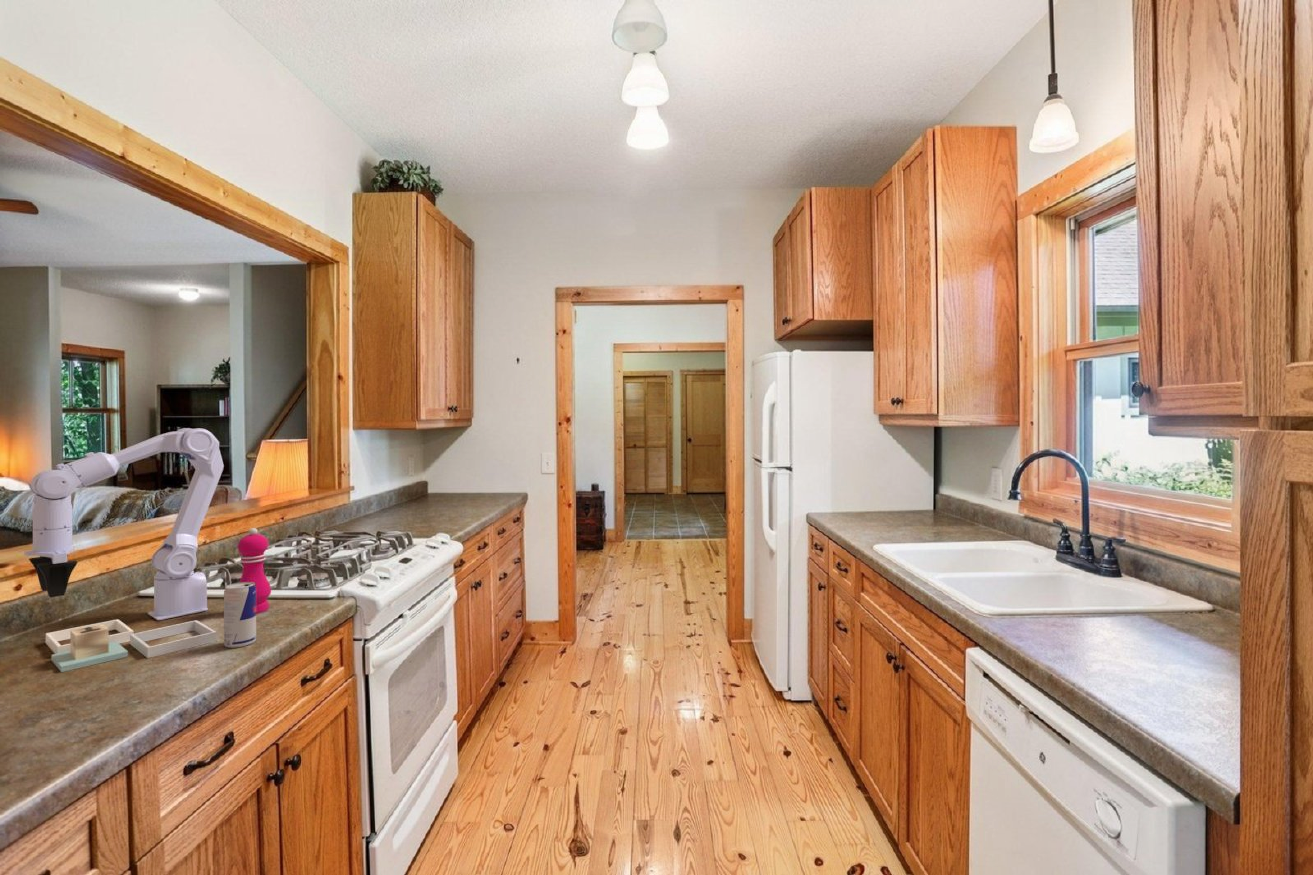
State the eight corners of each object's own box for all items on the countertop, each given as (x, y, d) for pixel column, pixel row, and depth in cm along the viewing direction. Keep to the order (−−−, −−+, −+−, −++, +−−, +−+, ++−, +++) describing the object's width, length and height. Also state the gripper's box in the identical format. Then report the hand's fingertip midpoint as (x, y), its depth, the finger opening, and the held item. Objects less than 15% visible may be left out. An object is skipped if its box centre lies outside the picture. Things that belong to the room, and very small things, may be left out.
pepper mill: (236, 617, 134) (236, 531, 134) (233, 610, 140) (233, 527, 139) (273, 611, 139) (273, 528, 139) (268, 604, 144) (268, 524, 144)
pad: (115, 646, 116) (115, 641, 116) (127, 656, 111) (127, 651, 111) (51, 660, 109) (51, 654, 109) (61, 672, 104) (61, 666, 104)
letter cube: (102, 647, 113) (102, 623, 113) (108, 652, 110) (108, 628, 110) (70, 654, 109) (70, 629, 109) (75, 659, 107) (75, 635, 107)
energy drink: (262, 640, 120) (262, 583, 120) (236, 649, 115) (236, 589, 115) (244, 637, 122) (244, 580, 122) (217, 646, 117) (217, 587, 117)
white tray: (118, 628, 126) (118, 619, 126) (133, 640, 119) (133, 630, 119) (45, 643, 117) (45, 633, 117) (57, 657, 110) (57, 646, 110)
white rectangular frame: (196, 629, 126) (196, 620, 126) (216, 641, 119) (216, 631, 119) (130, 644, 117) (130, 634, 117) (147, 658, 110) (147, 647, 110)
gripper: (18, 526, 121) (18, 591, 121) (31, 534, 113) (31, 603, 113) (66, 522, 127) (66, 584, 127) (81, 529, 118) (81, 595, 118)
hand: (53, 592), depth 120 cm, fingers open, 7 cm apart
